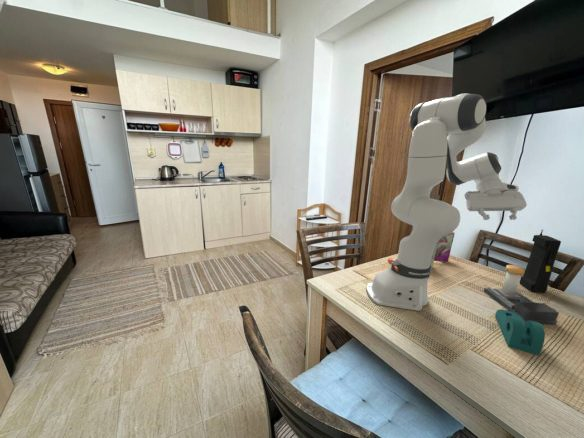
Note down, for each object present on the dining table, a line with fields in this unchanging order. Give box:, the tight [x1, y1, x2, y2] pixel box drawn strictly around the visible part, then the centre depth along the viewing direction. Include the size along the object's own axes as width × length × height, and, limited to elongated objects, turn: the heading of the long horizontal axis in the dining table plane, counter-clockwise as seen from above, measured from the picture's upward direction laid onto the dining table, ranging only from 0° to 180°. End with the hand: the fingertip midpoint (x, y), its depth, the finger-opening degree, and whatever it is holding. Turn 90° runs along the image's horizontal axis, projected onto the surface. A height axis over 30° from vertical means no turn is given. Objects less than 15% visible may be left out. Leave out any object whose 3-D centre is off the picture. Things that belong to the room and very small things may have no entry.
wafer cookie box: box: [434, 231, 455, 263], centre depth 125 cm, size 11×5×16 cm, turn 77°
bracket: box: [494, 308, 546, 357], centre depth 75 cm, size 18×7×8 cm, turn 152°
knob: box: [495, 264, 526, 300], centre depth 91 cm, size 5×5×12 cm
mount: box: [483, 286, 560, 326], centre depth 88 cm, size 19×10×5 cm, turn 177°
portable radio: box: [519, 229, 562, 294], centre depth 98 cm, size 8×6×25 cm
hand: (500, 219), depth 98 cm, fingers open, 8 cm apart
